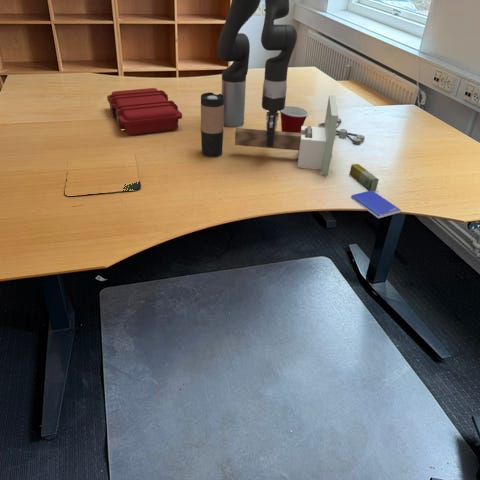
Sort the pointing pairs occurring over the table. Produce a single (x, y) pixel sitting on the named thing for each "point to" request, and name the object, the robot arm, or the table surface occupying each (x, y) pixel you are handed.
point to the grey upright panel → (319, 141)
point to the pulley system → (346, 134)
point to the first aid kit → (144, 111)
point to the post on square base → (260, 138)
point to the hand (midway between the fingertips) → (270, 143)
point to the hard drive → (375, 204)
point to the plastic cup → (293, 118)
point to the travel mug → (212, 124)
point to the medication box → (363, 177)
